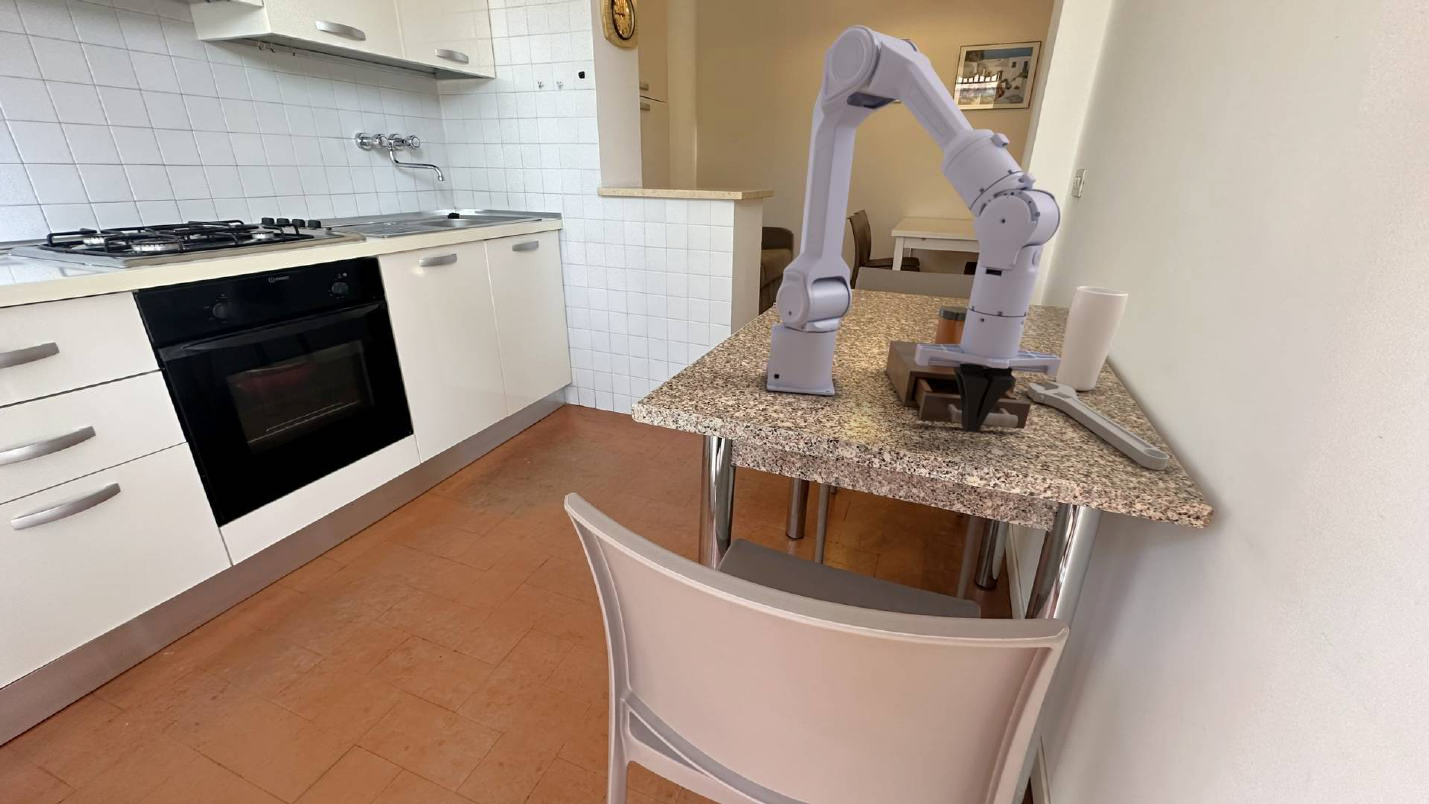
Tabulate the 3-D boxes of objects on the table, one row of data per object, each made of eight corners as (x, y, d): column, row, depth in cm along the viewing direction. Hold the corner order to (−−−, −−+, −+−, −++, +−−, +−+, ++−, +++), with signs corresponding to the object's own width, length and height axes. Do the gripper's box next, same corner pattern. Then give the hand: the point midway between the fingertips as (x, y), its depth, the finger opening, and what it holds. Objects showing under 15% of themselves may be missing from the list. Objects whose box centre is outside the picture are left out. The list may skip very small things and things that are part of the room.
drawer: (1037, 442, 66) (1044, 416, 65) (927, 432, 67) (932, 407, 66) (986, 389, 83) (991, 367, 82) (899, 382, 84) (902, 360, 83)
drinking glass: (1052, 376, 93) (1077, 284, 88) (1100, 386, 90) (1130, 290, 84) (1046, 386, 88) (1073, 289, 83) (1098, 397, 85) (1129, 296, 79)
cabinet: (1007, 415, 76) (1016, 379, 74) (903, 406, 78) (910, 370, 76) (972, 377, 91) (979, 346, 89) (885, 370, 92) (890, 340, 90)
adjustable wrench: (1171, 472, 63) (1177, 457, 62) (1111, 468, 63) (1116, 453, 63) (1061, 392, 86) (1064, 381, 85) (1017, 389, 86) (1020, 378, 86)
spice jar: (934, 360, 81) (944, 311, 78) (927, 351, 85) (936, 304, 82) (967, 362, 80) (978, 313, 78) (958, 353, 85) (968, 307, 82)
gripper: (935, 314, 57) (911, 437, 62) (1087, 325, 56) (1051, 450, 61) (920, 300, 64) (900, 413, 69) (1056, 310, 62) (1025, 423, 67)
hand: (969, 428), depth 65 cm, fingers closed, pressing on drawer
